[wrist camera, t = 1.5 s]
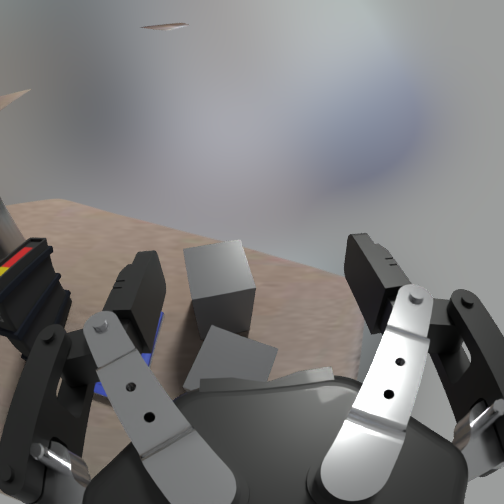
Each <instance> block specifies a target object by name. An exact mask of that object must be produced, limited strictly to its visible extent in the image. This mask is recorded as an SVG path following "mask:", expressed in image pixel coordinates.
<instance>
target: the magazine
mask: <svg viewBox="0 0 504 504" xmlns="http://www.w3.org/2000/svg"><path fill="white" fill-rule="evenodd" d="M52 252H53V247H52V246H48V245H47V240H46V238H29V239H28V240H26V241H25V242H24V243H22V244H21V245H20V246H19V247H17V248H16V249H15V250H13V251H12V252H11V253H10V254H9V255H7V256H6V257H5V258H4V259H2V260H1V261H0V335H2V336H5V337H7V338H8V339H9V340H10V341H11V343H12V344H13V345H14V346H15V348H17V349H18V350H19V351H20V352H21V353H22V356H21V358H23V359H24V360H25V361H27V359H28V356H29V354H30V352H31V349H32V347H33V345H34V343H35V340H36V338H37V336H38V334H39V333H40V332H41V331H42V330H43V329H44V328H46V327H47V326H49V325H52V324H59V325H61V326H62V327H63V328H64V326H65V323H66V319H67V316H68V312H69V309H70V306H71V303H72V300H71V299H70V294H71V292H70V291H69V290H64V289H63V287H62V286H61V284H60V282H59V279H60V278H61V275H60V273H55V271H54V268H53V266H52V262H51V258H50V254H51V253H52Z"/></svg>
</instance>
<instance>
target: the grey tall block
mask: <svg viewBox="0 0 504 504" xmlns="http://www.w3.org/2000/svg"><path fill="white" fill-rule="evenodd" d="M183 251H184V257H185V263H186V270H187V275H188V281H189V287H190V292H191V298H192V303H193V307H194V312H195V316H196V321H197V325H198V329H199V333H200V338H201V340H203V339H205V338H206V336H207V334H208V332H209V330H210V328H211V325H213V326H216V327H218V328H221V329H224V330H226V331H229V332H232V333H238V332H243V331H248V330H250V323H251V317H252V310H253V304H254V297H255V291H256V286H255V283H254V280H253V277H252V274H251V271H250V268H249V265H248V262H247V259H246V255H245V252H244V249H243V246H242V243H241V240H234V241H228V242H222V243H216V244H210V245H204V246H198V247H192V248H186V249H183Z"/></svg>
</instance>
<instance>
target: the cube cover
mask: <svg viewBox="0 0 504 504" xmlns="http://www.w3.org/2000/svg"><path fill="white" fill-rule="evenodd" d="M277 351H278V348H275V347H272V346H269V345H266V344H263V343H260V342H257V341H254V340H251V339H248V338H246V337H243V336H240V335H237V334H234V333H232V332H229V331H226V330H224V329H221V328H218V327H216V326H213V325H211V328H210V330H209V332H208V334H207V336H206V338H205V340H204V342H203V344H202V347H201V349H200V351H199V353H198V355H197V357H196V359H195V361H194V363H193V366H192V368H191V370H190V372H189V374H188V376H187V378H186V380H185V383H184V385H183V388H184V389H185V391H186V392H188V391H191V390H194V389H197V388H199V387H200V379H205V378H229V377H233V378H240V379H246V380H254V381H261V382H267V379H268V377H269V374H270V371H271V368H272V366H273V363H274V360H275V357H276V354H277Z"/></svg>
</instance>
